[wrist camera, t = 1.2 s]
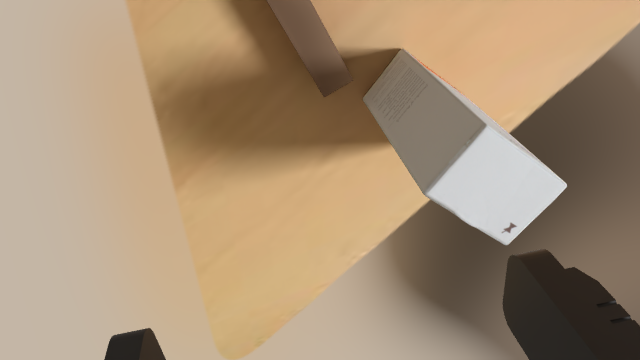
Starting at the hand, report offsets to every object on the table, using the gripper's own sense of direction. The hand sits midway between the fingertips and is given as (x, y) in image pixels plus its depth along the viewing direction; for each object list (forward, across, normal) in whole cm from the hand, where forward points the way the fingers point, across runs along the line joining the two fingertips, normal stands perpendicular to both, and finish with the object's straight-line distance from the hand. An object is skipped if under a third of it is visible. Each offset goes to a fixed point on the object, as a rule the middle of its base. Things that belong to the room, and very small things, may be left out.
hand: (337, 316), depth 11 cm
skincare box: (+21, -9, +5) cm, 24 cm away
